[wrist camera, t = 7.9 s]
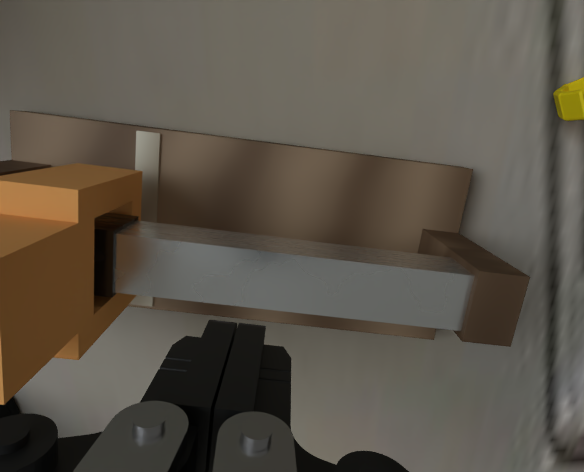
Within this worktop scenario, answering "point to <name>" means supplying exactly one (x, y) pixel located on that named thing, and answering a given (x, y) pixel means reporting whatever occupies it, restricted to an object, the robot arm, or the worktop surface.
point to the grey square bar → (277, 273)
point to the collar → (55, 264)
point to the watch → (570, 100)
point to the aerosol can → (8, 409)
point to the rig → (287, 207)
